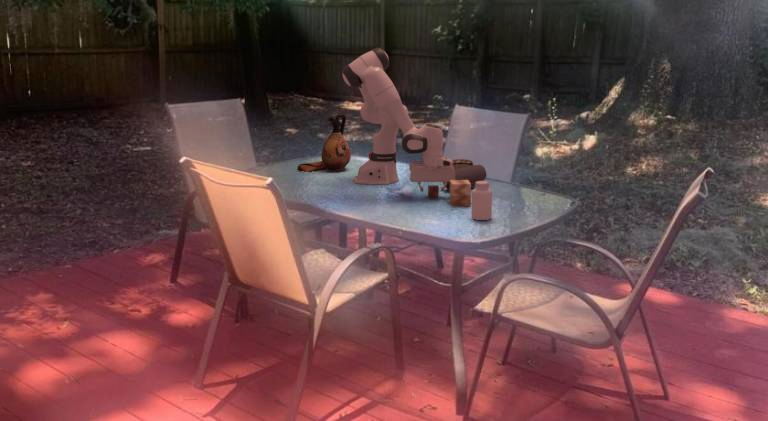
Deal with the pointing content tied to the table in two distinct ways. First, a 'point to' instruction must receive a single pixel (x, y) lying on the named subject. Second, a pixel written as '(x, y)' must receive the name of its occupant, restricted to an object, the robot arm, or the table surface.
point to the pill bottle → (481, 201)
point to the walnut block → (433, 191)
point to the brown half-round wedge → (461, 163)
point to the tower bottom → (460, 201)
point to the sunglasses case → (312, 166)
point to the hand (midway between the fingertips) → (432, 191)
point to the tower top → (460, 188)
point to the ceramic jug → (336, 146)
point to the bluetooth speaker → (469, 174)
